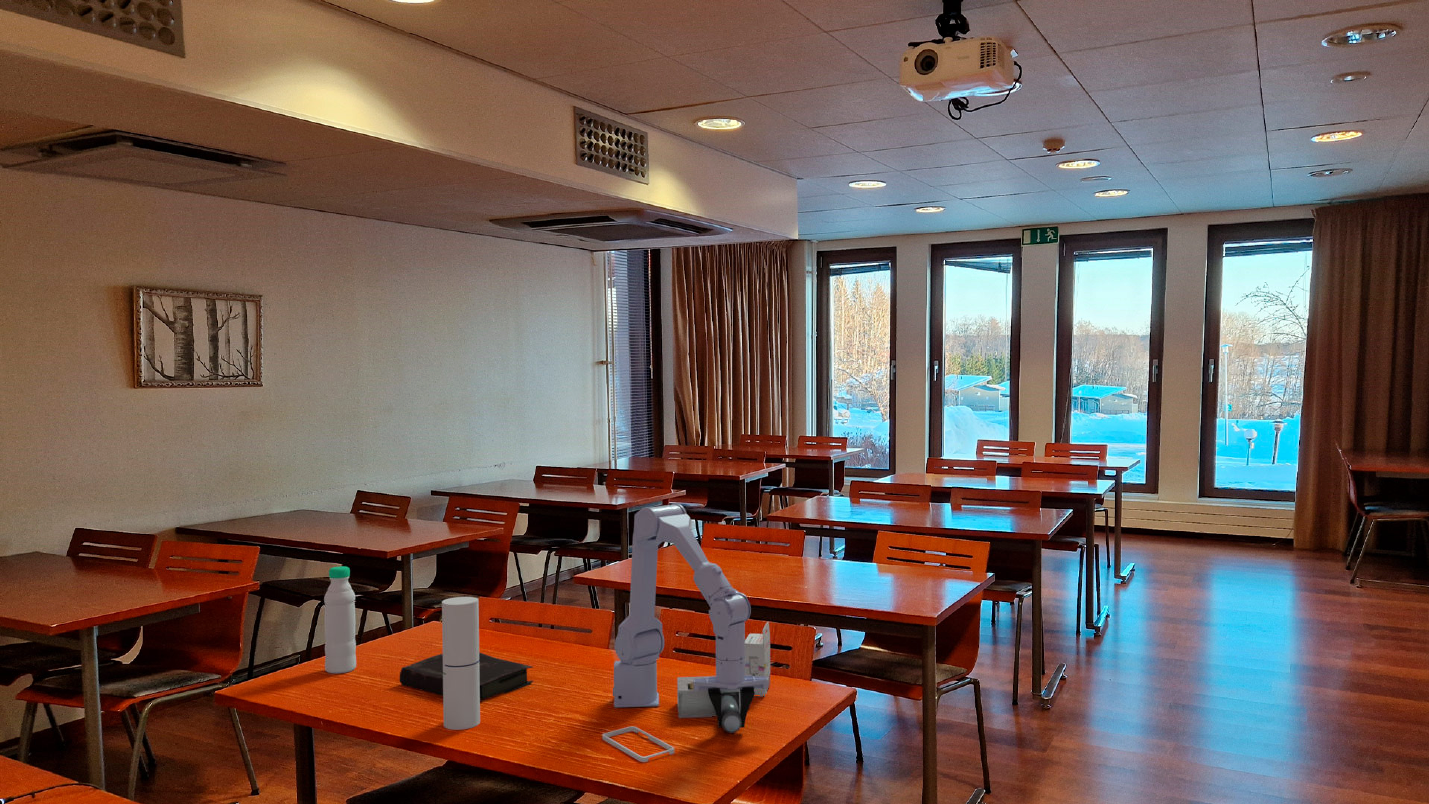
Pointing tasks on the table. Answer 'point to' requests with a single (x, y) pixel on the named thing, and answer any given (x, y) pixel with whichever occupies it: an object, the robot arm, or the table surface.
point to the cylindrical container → (461, 662)
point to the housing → (698, 699)
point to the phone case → (631, 753)
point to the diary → (492, 675)
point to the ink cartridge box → (758, 657)
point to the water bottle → (340, 623)
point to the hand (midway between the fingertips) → (731, 726)
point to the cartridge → (730, 713)
